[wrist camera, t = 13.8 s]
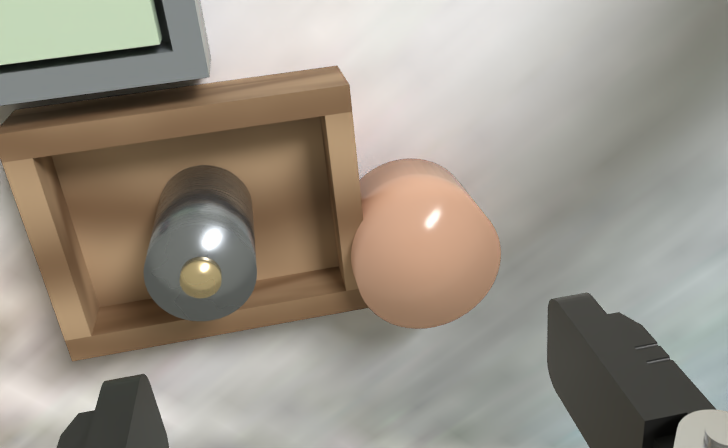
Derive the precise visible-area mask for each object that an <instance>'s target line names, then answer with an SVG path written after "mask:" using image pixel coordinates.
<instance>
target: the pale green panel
mask: <svg viewBox="0 0 728 448" xmlns="http://www.w3.org/2000/svg"><path fill="white" fill-rule="evenodd" d="M161 40H162V35H161V31H160V26H159V22H158V17H157V12H156V8H155V3H154V0H0V65H5V64H13V63H20V62H28V61H36V60H43V59H51V58H59V57H67V56H74V55H82V54H90V53H98V52H105V51H113V50H121V49H129V48H136V47H144V46H152V45H159V44H160V43H161Z"/></svg>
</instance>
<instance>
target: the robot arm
mask: <svg viewBox="0 0 728 448" xmlns="http://www.w3.org/2000/svg"><path fill="white" fill-rule="evenodd" d="M547 363H548V370H549V375H550V378H551V381H552V384H553V387H554V389H555V391H556V393H557V394H558V396H559V397H560V399H561V401H562V402H563V404H564V406H565V407H566V409H567V411H568V412H569V414H570V416H571V417H572V419H573V421H574V422H575V424H576V426H577V427H578V429H579V431H580V432H581V434H582V436H583V437H584V439H585V441H586V442H587V444H588V446H589V447H590V448H728V412H727V411H722V410H716V409H715V407H714V406H713V405H712V404H711V403H710V402H709V401H708V400H707V398H706V397H705V396H704V395H703V394H702V393H701V392H700V390H699V389H698V388H697V387H696V386H695V385H694V384H693V382H692V381H691V380H690V379H689V378H688V377H687V376H686V375H685V373H684V372H683V371H682V370H681V369H680V368H679V367H678V365H677V364H676V363H675V362H674V361H673V360H670V357H669V355H668V354H667V353H666V352H665V351H664V350H663V348H662V347H661V346H658V345H657V342H656V341H655V339H654V338H653V337H652V336H651V335H650V334H649V333H648V331H647V330H646V329H645V328H644V327H643V326H642V325H641V324H639V323H637V322H635V321H634V320H632V319H630V318H628V317H627V316H625V315H623V314H621V313H619V312H618V313H612V314H607V313H606V312H605V311H604V310H603V309H602V307H601V306H600V305H599V304H598V303H597V301H596V300H595V299H594V298H593V297H592V296H591V295H590V294H589V293H582V294H576V295H571V296H566V297H560V298H555V299H551V300H550V301H549V304H548V337H547ZM57 448H169V444H168V438H167V434H166V431H165V428H164V425H163V422H162V419H161V415H160V412H159V409H158V406H157V403H156V400H155V397H154V394H153V391H152V388H151V385H150V382H149V380H148V378H147V376H146V375H145V374H140V375H135V376H130V377H124V378H119V379H114V380H108V381H105V382H103V384H102V387H101V390H100V394H99V397H98V401H97V405H96V408H95V410H94V411H89V412H83V413H78V415H77V416H76V417H75V418H74V420H73V421H72V422H71V423H70V425H69V426H68V427H67V428H66V429H65V431H64V432H63V433H62V434H61V436H60V439H59V442H58V445H57Z"/></svg>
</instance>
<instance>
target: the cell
mask: <svg viewBox="0 0 728 448" xmlns="http://www.w3.org/2000/svg"><path fill="white" fill-rule="evenodd" d="M256 279H257V265H256V250H255V236H254V221H253V207H252V199H251V196H250V193H249V191H248V189H247V187H246V186H245V184H244V183H243V182H242V181H241V180H240V179H239V178H238V177H237V176H236V175H235V174H233V173H232V172H230V171H228V170H226V169H223V168H221V167H217V166H212V165H198V166H193V167H189V168H186V169H184V170H182V171H180V172H178V173H177V174H175V175H174V176H173V177H172V178H171V179H170V180H169V181H168V182H167V183H166V185H165V187H164V188H163V190H162V193H161V196H160V200H159V204H158V208H157V213H156V217H155V221H154V226H153V230H152V234H151V238H150V243H149V247H148V251H147V256H146V260H145V264H144V281H145V285H146V288H147V291H148V292H149V294H150V296H151V297H152V299H153V300H154V301H155V303H156V304H157V305H158V306H159V307H161V308H162V309H163V310H164V311H166V312H168V313H169V314H171V315H173V316H176V317H178V318H181V319H185V320H190V321H211V320H216V319H220V318H222V317H225V316H227V315H229V314H231V313H233V312H235V311H236V310H238V309H239V308H240V307H241V306H242V305H243V304H244V303H245V302H246V301H247V300H248V298H249V297H250V296H251V294H252V292H253V290H254V287H255V284H256Z"/></svg>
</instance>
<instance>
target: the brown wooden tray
mask: <svg viewBox="0 0 728 448" xmlns="http://www.w3.org/2000/svg"><path fill="white" fill-rule="evenodd" d="M0 159H1V161H2V164H3V167H4V170H5V173H6V176H7V178H8V181H9V184H10V187H11V190H12V193H13V195H14V198H15V201H16V204H17V207H18V209H19V212H20V215H21V218H22V221H23V224H24V226H25V229H26V232H27V235H28V238H29V241H30V243H31V246H32V249H33V252H34V255H35V258H36V260H37V263H38V266H39V269H40V272H41V274H42V277H43V280H44V283H45V286H46V289H47V291H48V294H49V297H50V300H51V303H52V306H53V308H54V311H55V314H56V317H57V320H58V322H59V325H60V328H61V331H62V334H63V337H64V339H65V342H66V345H67V348H68V351H69V354H70V356H71V359H72V361H77V360H82V359H88V358H93V357H99V356H104V355H110V354H115V353H121V352H126V351H132V350H137V349H143V348H149V347H154V346H160V345H165V344H171V343H176V342H182V341H187V340H193V339H198V338H204V337H209V336H215V335H220V334H226V333H231V332H237V331H242V330H248V329H253V328H259V327H264V326H270V325H275V324H281V323H286V322H292V321H297V320H303V319H308V318H314V317H320V316H325V315H331V314H336V313H342V312H347V311H353V310H358V309H364V308H369V307H368V306H367V304H366V303H365V302H364V300H363V298H362V296H361V294H360V291H359V288H358V285H357V282H356V279H355V277H354V274H353V270H352V265H351V249H352V244H353V240H354V237H355V234H356V232H357V229H358V228H359V226H360V224H361V222H362V221H363V213H362V203H361V193H360V183H359V174H358V164H357V154H356V144H355V135H354V125H353V115H352V106H351V96H350V86H349V83H348V82H347V80H346V79H345V77H344V76H343V74H342V72H341V71H340V69H339V68H338V66H332V67H324V68H317V69H310V70H302V71H295V72H288V73H281V74H273V75H266V76H259V77H251V78H244V79H237V80H230V81H222V82H215V83H208V84H200V85H193V86H186V87H179V88H171V89H164V90H157V91H149V92H142V93H135V94H127V95H120V96H113V97H106V98H98V99H91V100H84V101H76V102H69V103H62V104H55V105H47V106H40V107H33V108H25V109H18V110H15V111H14V112H13V113H12V114H11V115H10V116H9V117H8V118H7V119H6V120H5V122H4V123H3V124H2V125H1V126H0ZM198 165H212V166H217V167H221V168H223V169H226V170H228V171H230V172H232V173H233V174H235V175H236V176H237V177H238V178H239V179H240V180H241V181H242V182H243V183H244V184H245V186H246V187H247V189H248V191H249V193H250V196H251V199H252V207H253V221H254V236H255V250H256V265H257V279H256V284H255V287H254V290H253V292H252V294H251V296H250V297H249V298H248V300H247V301H246V302H245V303H244V304H243V305H242V306H241V307H240V308H239V309H238V310H236V311H235V312H233V313H231V314H229V315H227V316H225V317H222V318H220V319H216V320H211V321H190V320H185V319H181V318H178V317H176V316H173V315H171V314H169V313H168V312H166V311H164V310H163V309H162V308H161V307H159V306H158V305H157V304H156V303H155V301H154V300H153V299H152V297H151V296H150V294H149V292H148V291H147V288H146V285H145V281H144V264H145V260H146V256H147V251H148V247H149V243H150V238H151V234H152V230H153V226H154V221H155V217H156V213H157V208H158V204H159V200H160V196H161V193H162V190H163V188H164V187H165V185H166V183H167V182H168V181H169V180H170V179H171V178H172V177H173V176H174V175H175V174H177V173H178V172H180V171H182V170H184V169H186V168H189V167H193V166H198Z"/></svg>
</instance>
